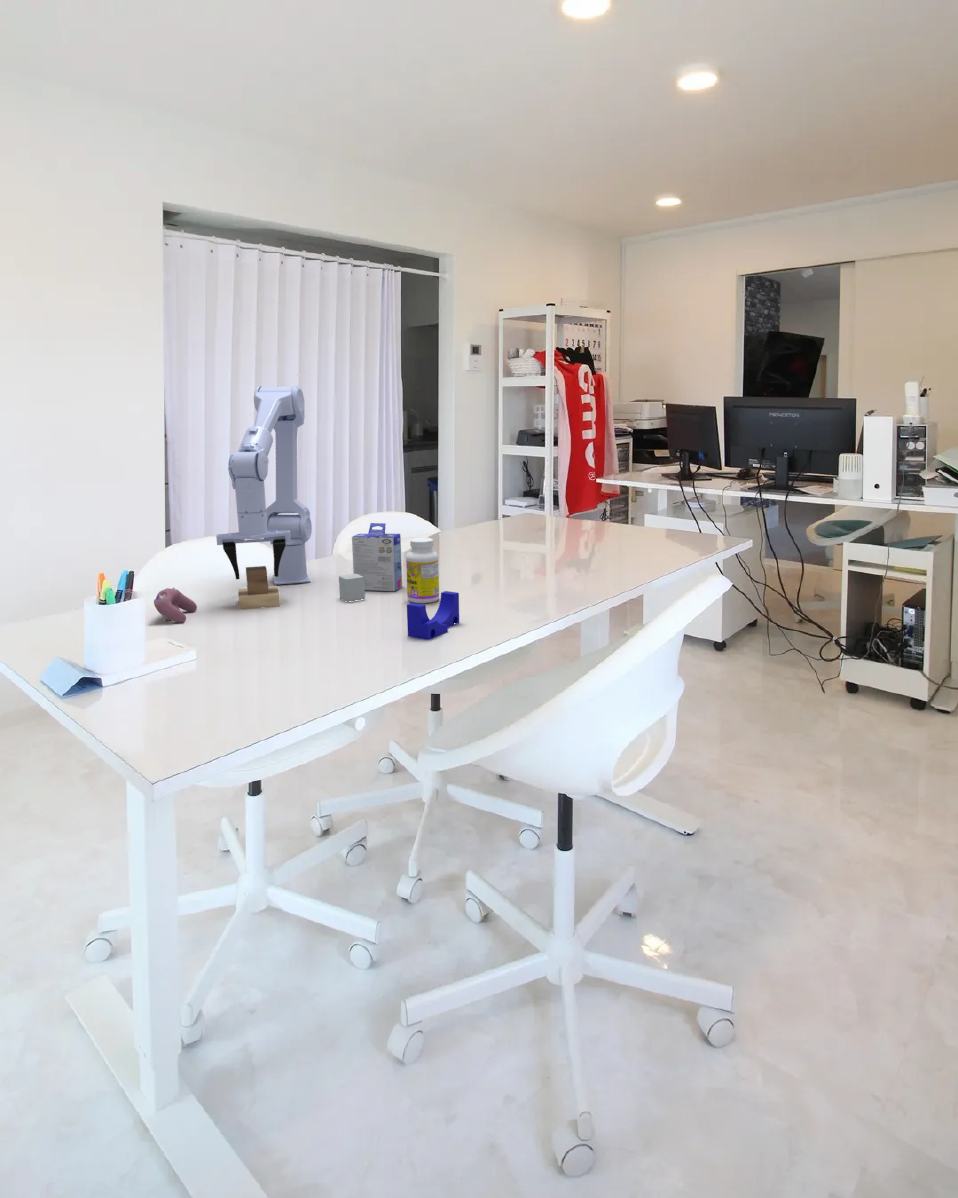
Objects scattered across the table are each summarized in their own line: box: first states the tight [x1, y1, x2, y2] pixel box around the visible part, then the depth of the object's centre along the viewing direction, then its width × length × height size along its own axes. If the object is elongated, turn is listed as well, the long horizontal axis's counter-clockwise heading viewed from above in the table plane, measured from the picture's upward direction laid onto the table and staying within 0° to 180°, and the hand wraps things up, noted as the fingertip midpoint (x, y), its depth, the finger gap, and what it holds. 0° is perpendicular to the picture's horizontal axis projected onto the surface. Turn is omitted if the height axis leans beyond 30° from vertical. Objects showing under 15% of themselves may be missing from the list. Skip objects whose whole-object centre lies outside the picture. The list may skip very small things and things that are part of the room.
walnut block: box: [245, 565, 269, 595], centre depth 167 cm, size 4×4×5 cm
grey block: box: [338, 573, 366, 603], centre depth 170 cm, size 4×4×5 cm
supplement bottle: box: [405, 537, 440, 604], centre depth 168 cm, size 7×7×13 cm
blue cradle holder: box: [406, 590, 460, 641], centre depth 147 cm, size 12×4×6 cm, turn 147°
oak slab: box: [237, 585, 281, 610], centre depth 168 cm, size 8×8×3 cm
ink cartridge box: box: [351, 522, 403, 592], centre depth 179 cm, size 10×6×14 cm, turn 79°
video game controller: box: [153, 586, 198, 624], centre depth 158 cm, size 10×5×7 cm, turn 5°
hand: (257, 577), depth 167 cm, fingers open, 7 cm apart
